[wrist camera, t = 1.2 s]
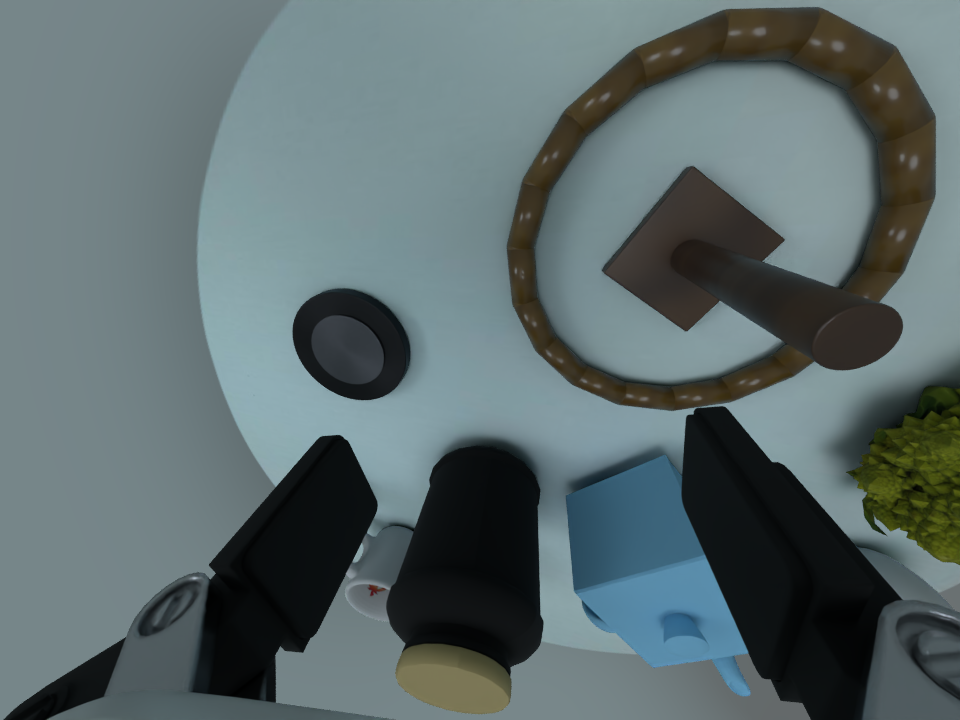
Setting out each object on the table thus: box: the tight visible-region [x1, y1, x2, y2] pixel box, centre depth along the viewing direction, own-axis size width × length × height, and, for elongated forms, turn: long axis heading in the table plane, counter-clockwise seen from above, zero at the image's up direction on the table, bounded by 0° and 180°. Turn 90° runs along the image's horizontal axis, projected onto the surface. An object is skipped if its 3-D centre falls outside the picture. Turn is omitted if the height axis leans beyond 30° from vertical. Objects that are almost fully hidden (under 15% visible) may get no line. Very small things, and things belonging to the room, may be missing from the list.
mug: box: [857, 547, 955, 611], centre depth 32 cm, size 12×8×8 cm
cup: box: [345, 526, 413, 622], centre depth 41 cm, size 11×8×8 cm
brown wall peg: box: [602, 166, 903, 370], centre depth 18 cm, size 8×8×15 cm
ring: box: [507, 7, 936, 411], centre depth 23 cm, size 25×25×2 cm
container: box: [386, 446, 543, 714], centre depth 29 cm, size 12×12×18 cm
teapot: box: [566, 455, 750, 696], centre depth 31 cm, size 18×16×13 cm
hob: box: [293, 289, 410, 400], centre depth 31 cm, size 11×11×1 cm
